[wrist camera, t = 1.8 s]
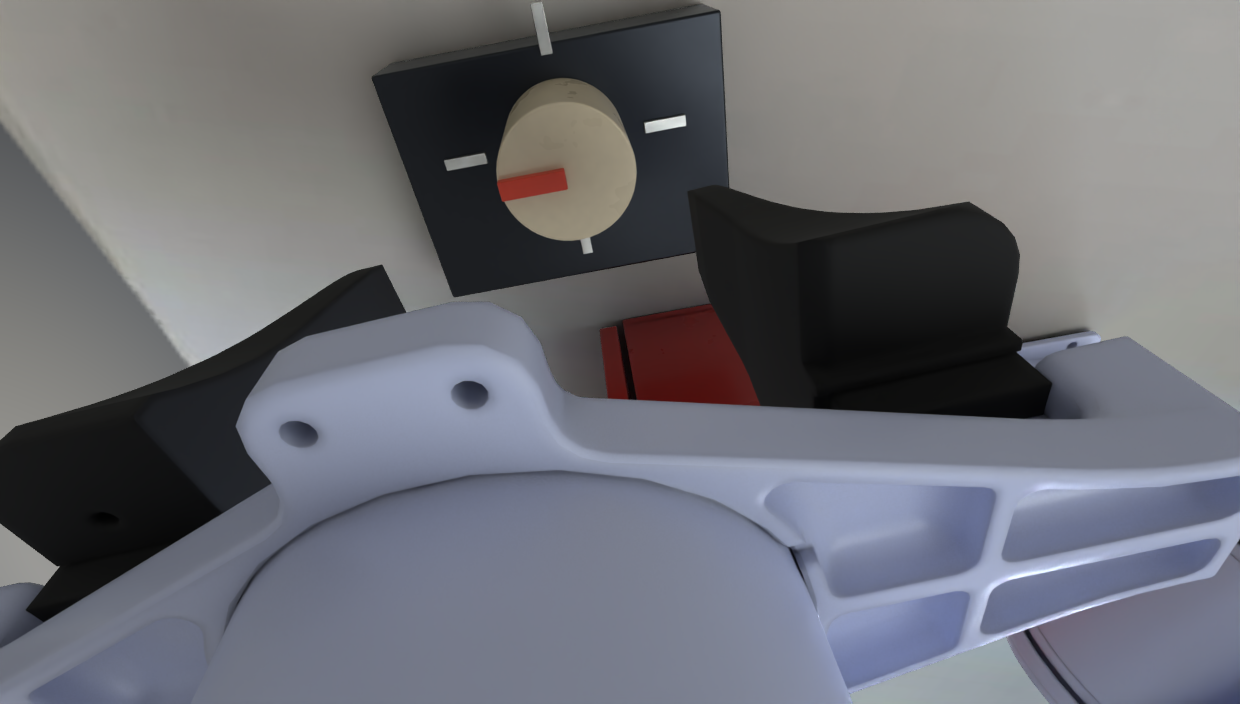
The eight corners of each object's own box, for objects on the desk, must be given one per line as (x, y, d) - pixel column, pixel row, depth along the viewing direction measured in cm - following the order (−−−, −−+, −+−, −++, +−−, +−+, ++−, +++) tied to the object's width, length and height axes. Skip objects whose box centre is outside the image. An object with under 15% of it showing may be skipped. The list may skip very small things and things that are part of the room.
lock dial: (613, 66, 18) (626, 91, 15) (632, 188, 21) (646, 232, 17) (490, 90, 18) (476, 120, 15) (521, 209, 21) (516, 256, 18)
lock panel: (701, -36, 19) (720, -34, 17) (717, 221, 24) (733, 248, 22) (375, 27, 19) (353, 37, 17) (461, 269, 25) (452, 300, 22)
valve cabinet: (793, 287, 27) (893, 429, 19) (789, 474, 34) (861, 633, 26) (621, 319, 27) (650, 473, 19) (655, 499, 34) (685, 664, 26)
